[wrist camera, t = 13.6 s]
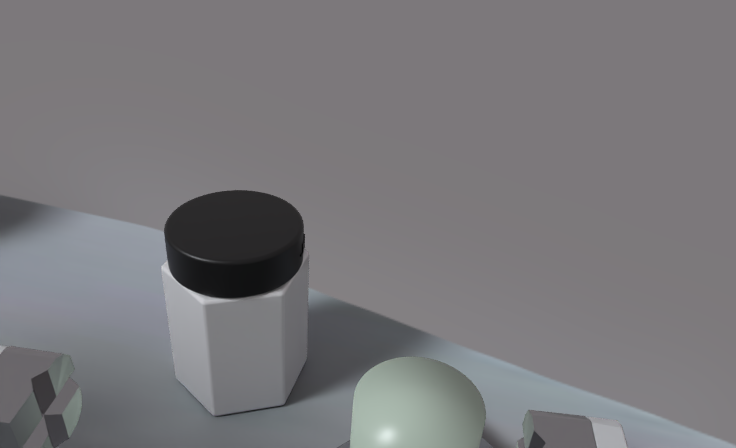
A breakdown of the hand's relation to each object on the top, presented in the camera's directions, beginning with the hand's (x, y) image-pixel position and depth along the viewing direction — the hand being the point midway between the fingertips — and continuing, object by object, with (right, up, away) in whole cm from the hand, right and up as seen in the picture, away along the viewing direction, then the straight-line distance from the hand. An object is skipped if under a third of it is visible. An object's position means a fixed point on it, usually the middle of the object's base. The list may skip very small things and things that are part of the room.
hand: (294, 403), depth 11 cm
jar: (-7, -7, +33) cm, 35 cm away
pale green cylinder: (+3, -14, +21) cm, 26 cm away
